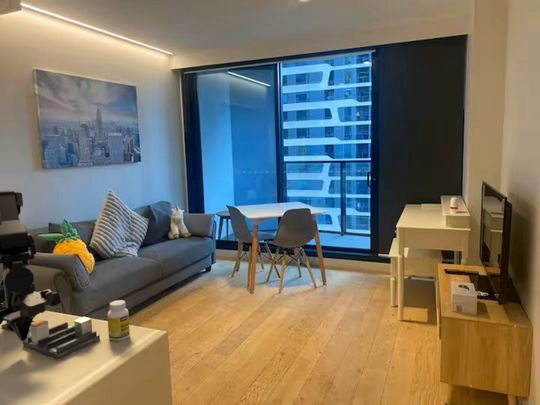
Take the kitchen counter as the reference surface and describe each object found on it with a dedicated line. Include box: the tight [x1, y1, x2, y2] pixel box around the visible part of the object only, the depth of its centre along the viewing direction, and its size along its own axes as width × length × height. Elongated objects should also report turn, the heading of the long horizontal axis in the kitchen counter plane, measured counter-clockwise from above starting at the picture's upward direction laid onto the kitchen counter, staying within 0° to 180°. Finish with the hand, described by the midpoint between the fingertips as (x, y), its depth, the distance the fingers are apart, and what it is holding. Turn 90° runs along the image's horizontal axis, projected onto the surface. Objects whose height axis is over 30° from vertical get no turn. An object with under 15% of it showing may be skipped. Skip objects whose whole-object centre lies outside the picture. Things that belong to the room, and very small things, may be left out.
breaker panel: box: [22, 316, 101, 361], centre depth 109 cm, size 15×12×6 cm
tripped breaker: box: [29, 318, 50, 343], centre depth 107 cm, size 3×3×5 cm
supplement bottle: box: [107, 299, 131, 342], centre depth 112 cm, size 5×5×10 cm
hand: (23, 340), depth 104 cm, fingers closed
